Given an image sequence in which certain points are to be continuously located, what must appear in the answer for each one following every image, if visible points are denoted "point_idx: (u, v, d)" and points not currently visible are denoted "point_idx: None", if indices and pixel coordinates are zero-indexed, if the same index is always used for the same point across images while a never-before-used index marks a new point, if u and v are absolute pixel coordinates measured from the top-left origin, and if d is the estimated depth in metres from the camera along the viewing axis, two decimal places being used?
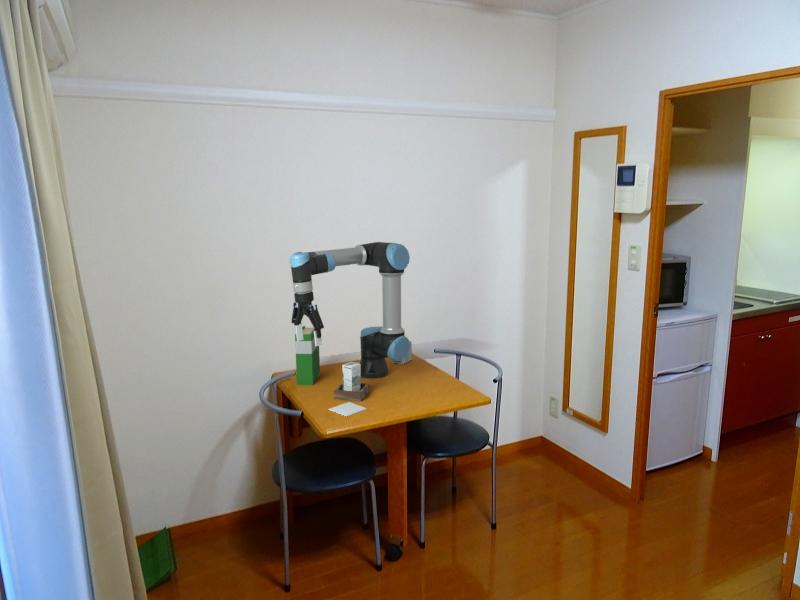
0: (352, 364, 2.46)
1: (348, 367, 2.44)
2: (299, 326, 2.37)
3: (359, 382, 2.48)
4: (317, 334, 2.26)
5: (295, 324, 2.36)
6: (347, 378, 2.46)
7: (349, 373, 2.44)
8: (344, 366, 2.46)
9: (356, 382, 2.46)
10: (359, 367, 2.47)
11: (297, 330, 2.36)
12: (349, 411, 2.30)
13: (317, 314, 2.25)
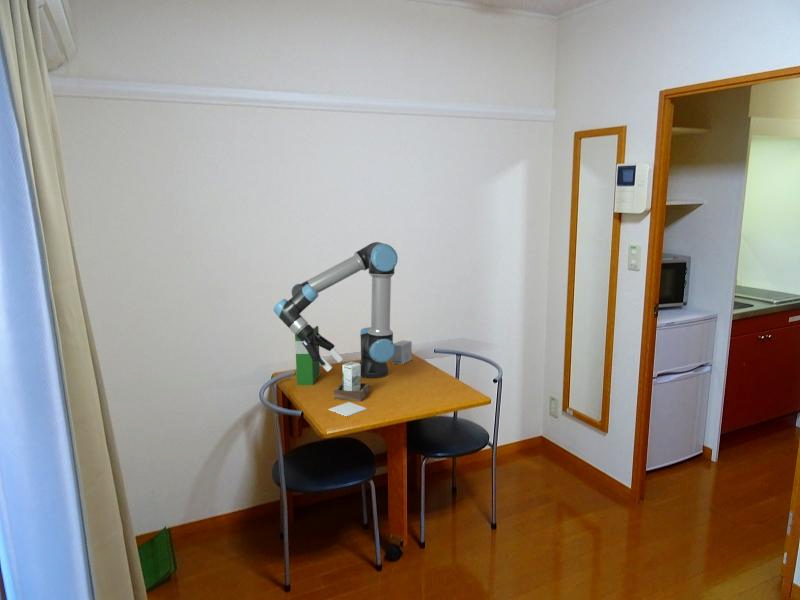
0: (352, 364, 2.46)
1: (348, 367, 2.44)
2: (331, 351, 2.54)
3: (359, 382, 2.48)
4: None
5: (328, 350, 2.55)
6: (347, 378, 2.46)
7: (349, 373, 2.44)
8: (344, 366, 2.46)
9: (356, 382, 2.46)
10: (359, 367, 2.47)
11: (332, 354, 2.55)
12: (349, 411, 2.30)
13: (309, 347, 2.41)
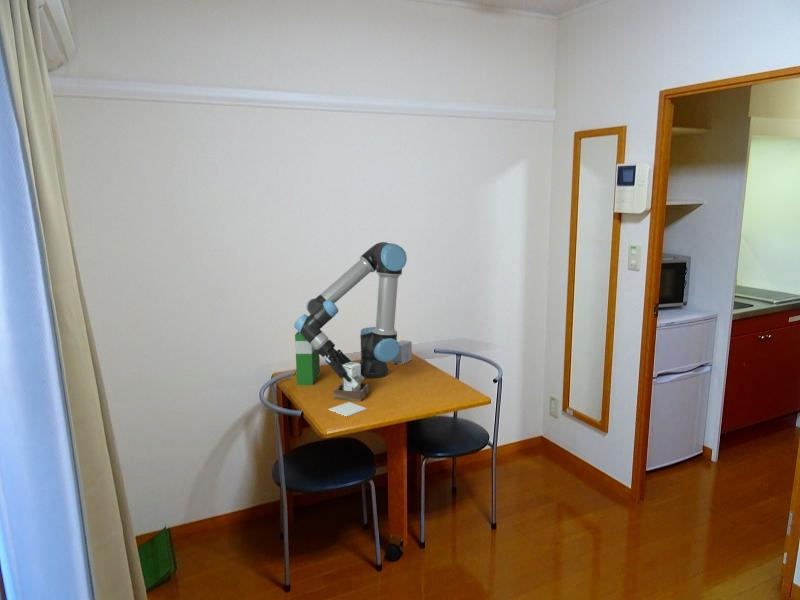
0: (352, 364, 2.46)
1: (348, 367, 2.44)
2: None
3: (359, 382, 2.48)
4: None
5: None
6: None
7: (349, 373, 2.44)
8: (344, 366, 2.46)
9: None
10: (359, 367, 2.47)
11: None
12: (349, 411, 2.30)
13: (333, 365, 2.42)
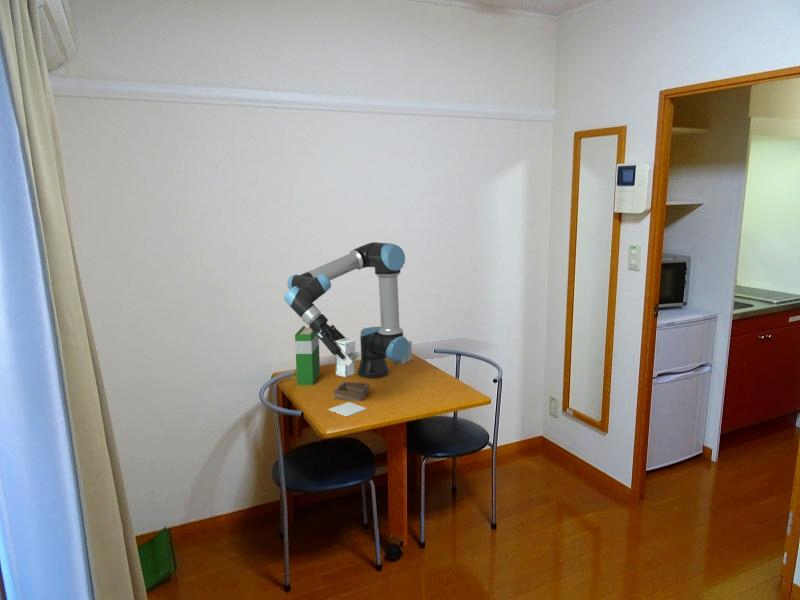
0: (346, 340, 2.28)
1: (341, 343, 2.26)
2: None
3: (353, 360, 2.30)
4: None
5: None
6: None
7: (343, 350, 2.26)
8: (337, 342, 2.28)
9: None
10: (353, 343, 2.29)
11: None
12: (349, 411, 2.30)
13: (326, 340, 2.23)
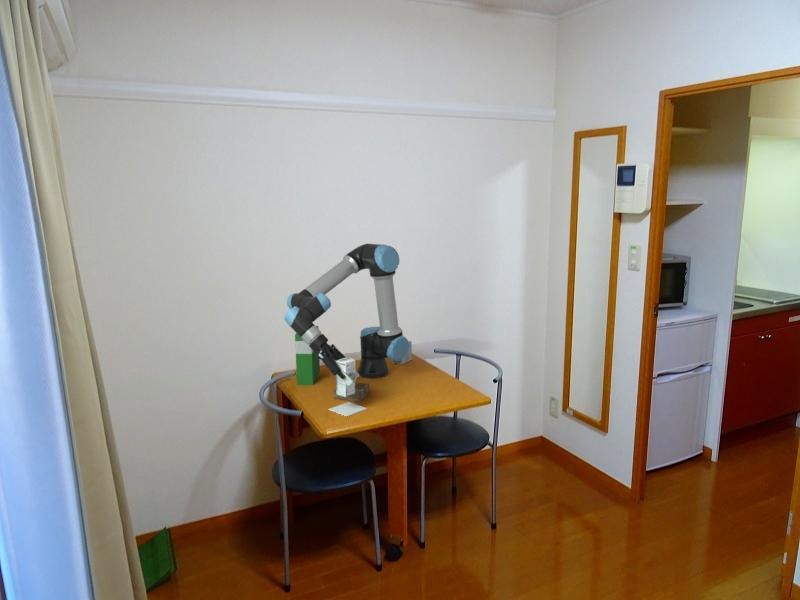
0: (346, 360, 2.29)
1: (342, 363, 2.27)
2: None
3: (354, 379, 2.30)
4: None
5: None
6: None
7: (343, 370, 2.27)
8: (338, 362, 2.28)
9: None
10: (354, 363, 2.29)
11: None
12: (349, 411, 2.30)
13: (326, 360, 2.24)
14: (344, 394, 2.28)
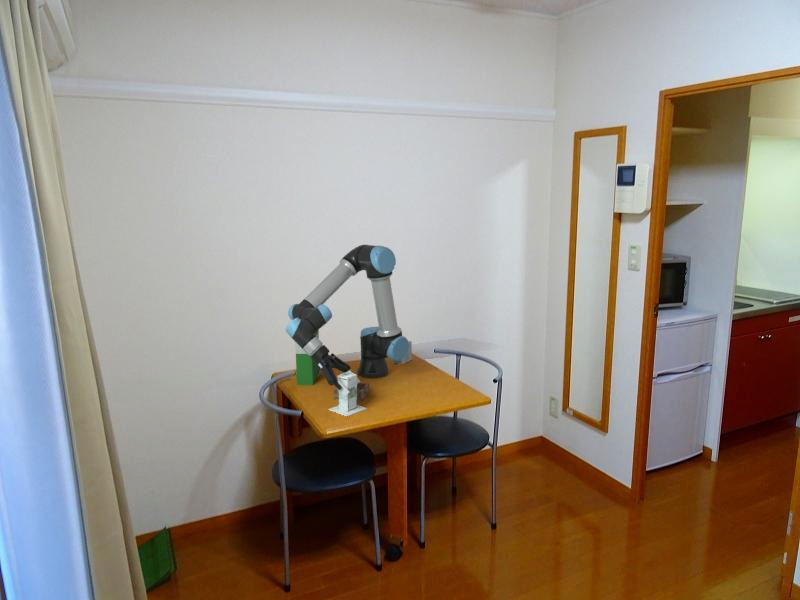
0: (348, 375, 2.30)
1: (344, 378, 2.28)
2: None
3: (355, 394, 2.32)
4: None
5: (344, 372, 2.39)
6: None
7: (345, 384, 2.28)
8: (339, 377, 2.30)
9: (352, 394, 2.31)
10: (355, 378, 2.31)
11: None
12: (349, 411, 2.30)
13: (324, 370, 2.24)
14: (346, 408, 2.30)
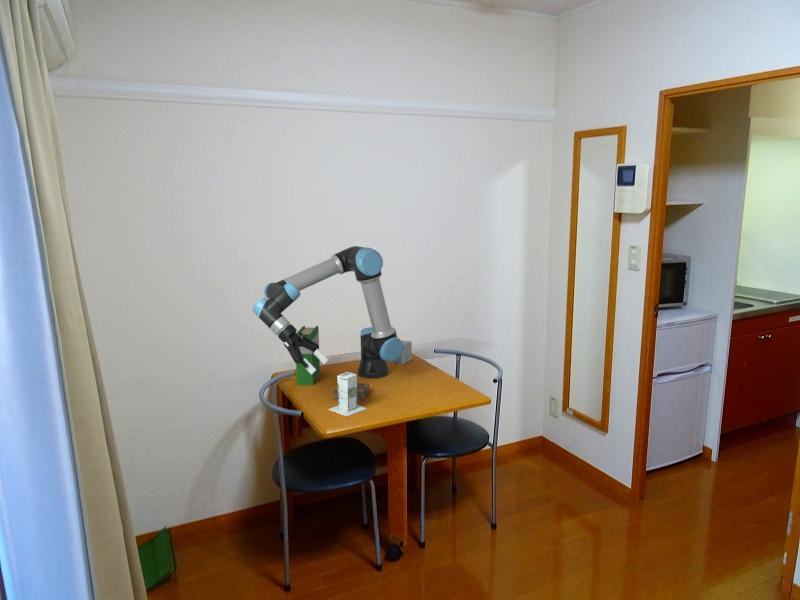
0: (348, 375, 2.30)
1: (344, 378, 2.28)
2: (316, 351, 2.39)
3: (355, 394, 2.32)
4: None
5: (313, 351, 2.40)
6: (342, 390, 2.30)
7: (345, 384, 2.28)
8: (339, 377, 2.30)
9: (352, 394, 2.31)
10: (355, 378, 2.31)
11: (317, 356, 2.39)
12: (349, 411, 2.30)
13: (291, 349, 2.25)
14: (346, 408, 2.30)
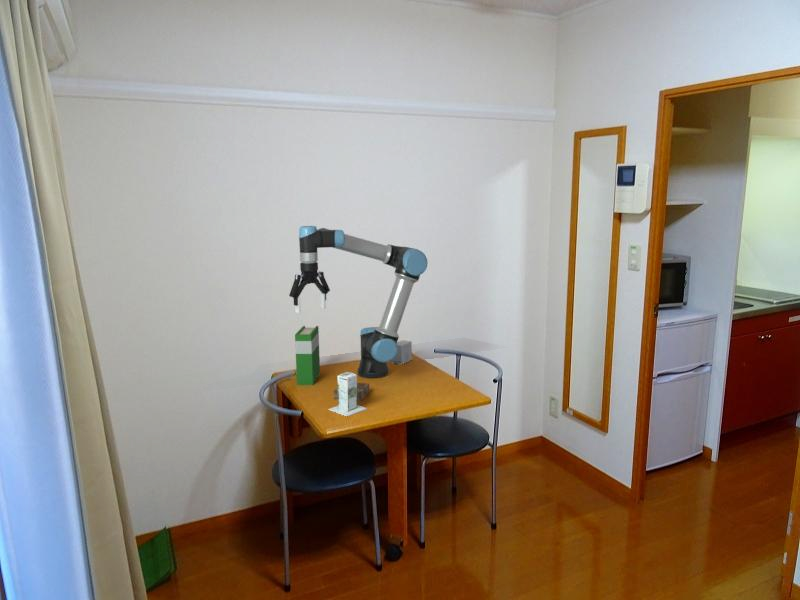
0: (348, 375, 2.30)
1: (344, 378, 2.28)
2: (322, 295, 2.53)
3: (355, 394, 2.32)
4: None
5: None
6: (342, 390, 2.30)
7: (345, 384, 2.28)
8: (339, 377, 2.30)
9: (352, 394, 2.31)
10: (355, 378, 2.31)
11: (320, 297, 2.55)
12: (349, 411, 2.30)
13: (295, 283, 2.42)
14: (346, 408, 2.30)
